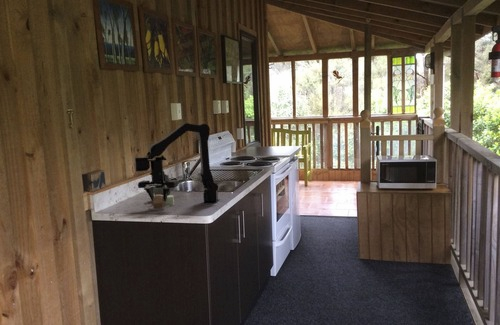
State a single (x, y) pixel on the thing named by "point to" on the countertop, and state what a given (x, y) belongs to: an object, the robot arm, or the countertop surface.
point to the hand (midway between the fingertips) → (159, 201)
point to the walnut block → (158, 202)
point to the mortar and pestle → (160, 189)
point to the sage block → (170, 200)
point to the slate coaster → (159, 208)
